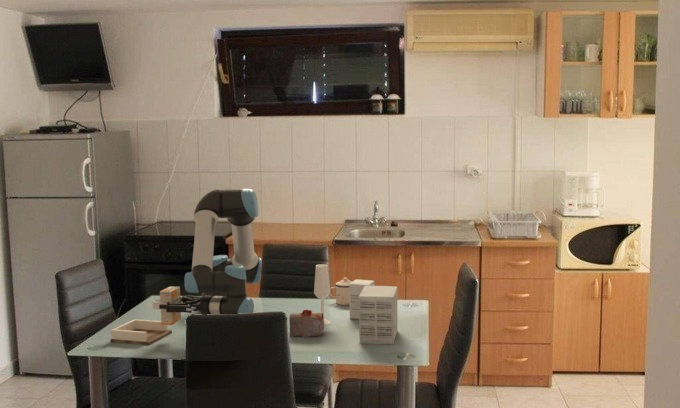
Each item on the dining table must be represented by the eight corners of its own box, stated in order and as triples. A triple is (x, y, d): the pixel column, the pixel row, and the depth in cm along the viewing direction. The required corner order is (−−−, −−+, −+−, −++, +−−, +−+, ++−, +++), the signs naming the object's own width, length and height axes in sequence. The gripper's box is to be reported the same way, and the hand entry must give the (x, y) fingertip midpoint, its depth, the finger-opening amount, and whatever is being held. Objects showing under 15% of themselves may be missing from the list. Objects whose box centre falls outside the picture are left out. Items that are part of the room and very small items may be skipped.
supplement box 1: (172, 325, 260) (171, 291, 258) (160, 325, 261) (159, 291, 259) (182, 319, 268) (180, 286, 266) (170, 318, 269) (168, 285, 267)
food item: (325, 331, 272) (324, 307, 271) (324, 337, 264) (323, 312, 263) (290, 332, 273) (289, 307, 271) (288, 338, 265) (287, 313, 264)
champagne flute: (325, 326, 280) (324, 267, 277) (311, 323, 283) (310, 266, 280) (333, 321, 285) (332, 264, 283) (319, 319, 289) (318, 263, 286)
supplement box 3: (364, 330, 273) (364, 285, 271) (398, 331, 271) (397, 285, 269) (358, 343, 256) (357, 295, 254) (394, 344, 254) (393, 296, 252)
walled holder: (171, 332, 274) (171, 321, 274) (149, 345, 259) (149, 333, 258) (134, 329, 279) (134, 318, 278) (110, 341, 264) (109, 330, 263)
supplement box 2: (355, 313, 298) (355, 279, 297) (375, 314, 295) (375, 280, 294) (348, 318, 290) (348, 283, 288) (369, 320, 287) (368, 284, 285)
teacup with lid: (356, 300, 320) (356, 275, 318) (354, 305, 311) (353, 280, 310) (330, 300, 321) (330, 275, 320) (327, 305, 312) (327, 279, 311)
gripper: (199, 323, 248) (144, 319, 255) (226, 308, 269) (174, 304, 275) (198, 303, 248) (143, 299, 254) (225, 289, 268) (173, 286, 274)
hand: (159, 302), depth 265 cm, fingers closed on supplement box 1, 8 cm apart
